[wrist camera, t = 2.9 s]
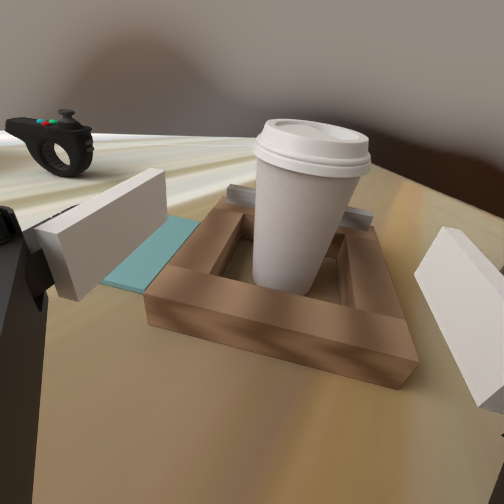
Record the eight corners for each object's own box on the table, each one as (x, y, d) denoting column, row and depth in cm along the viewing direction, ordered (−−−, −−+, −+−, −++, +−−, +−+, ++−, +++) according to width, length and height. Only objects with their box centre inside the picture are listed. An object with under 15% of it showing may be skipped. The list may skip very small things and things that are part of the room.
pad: (200, 225, 36) (200, 221, 36) (144, 294, 25) (144, 289, 25) (105, 205, 38) (105, 201, 38) (12, 261, 27) (10, 256, 26)
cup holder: (363, 248, 36) (379, 212, 33) (397, 389, 20) (434, 343, 17) (221, 219, 39) (223, 182, 36) (147, 324, 22) (140, 272, 19)
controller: (90, 184, 43) (74, 115, 38) (16, 172, 44) (-11, 102, 38) (105, 175, 47) (93, 111, 41) (36, 164, 47) (15, 99, 42)
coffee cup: (332, 317, 25) (400, 153, 17) (231, 302, 25) (249, 132, 17) (320, 258, 33) (362, 127, 25) (243, 247, 33) (259, 112, 25)
